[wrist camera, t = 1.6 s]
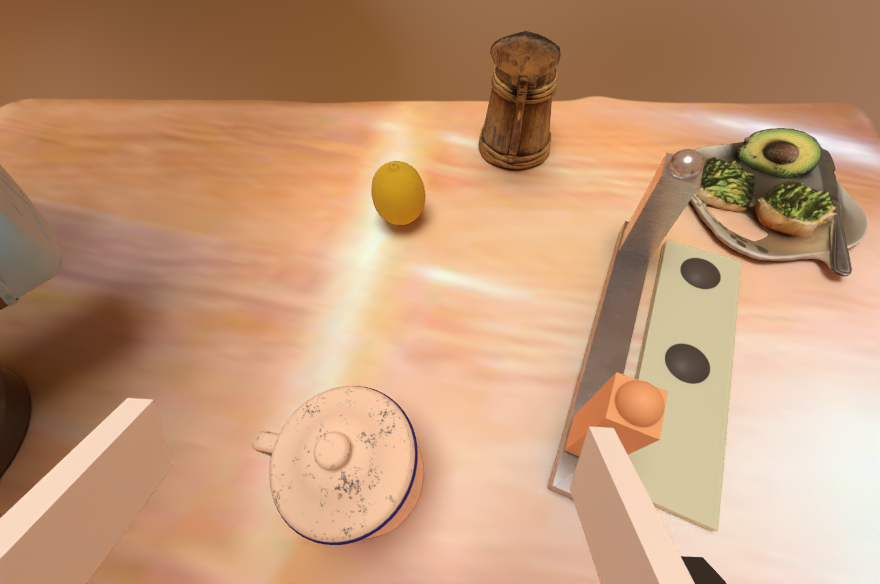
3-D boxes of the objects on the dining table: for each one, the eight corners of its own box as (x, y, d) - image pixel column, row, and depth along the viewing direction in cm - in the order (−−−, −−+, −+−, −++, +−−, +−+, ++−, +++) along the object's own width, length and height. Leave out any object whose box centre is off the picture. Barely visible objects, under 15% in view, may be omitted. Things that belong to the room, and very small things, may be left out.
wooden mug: (465, 192, 47) (468, 28, 32) (484, 120, 54) (494, -45, 39) (542, 203, 46) (583, 37, 31) (552, 127, 53) (590, -41, 37)
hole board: (612, 487, 31) (617, 486, 30) (662, 246, 42) (667, 239, 41) (710, 530, 29) (719, 530, 28) (735, 266, 41) (742, 260, 40)
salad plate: (912, 275, 40) (962, 246, 36) (734, 297, 39) (765, 270, 35) (800, 144, 50) (829, 110, 46) (657, 161, 49) (674, 128, 45)
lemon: (401, 247, 44) (390, 194, 37) (369, 220, 46) (353, 165, 39) (437, 219, 45) (434, 163, 39) (405, 194, 48) (396, 137, 41)
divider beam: (547, 488, 31) (599, 461, 20) (618, 233, 43) (676, 124, 32) (586, 505, 30) (664, 488, 19) (647, 241, 43) (718, 133, 31)
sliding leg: (564, 450, 30) (614, 410, 20) (573, 415, 32) (625, 362, 22) (602, 466, 30) (672, 433, 20) (610, 430, 31) (680, 382, 21)
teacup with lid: (438, 429, 34) (429, 386, 24) (410, 556, 29) (385, 568, 19) (305, 400, 36) (245, 347, 26) (260, 515, 31) (165, 506, 21)
